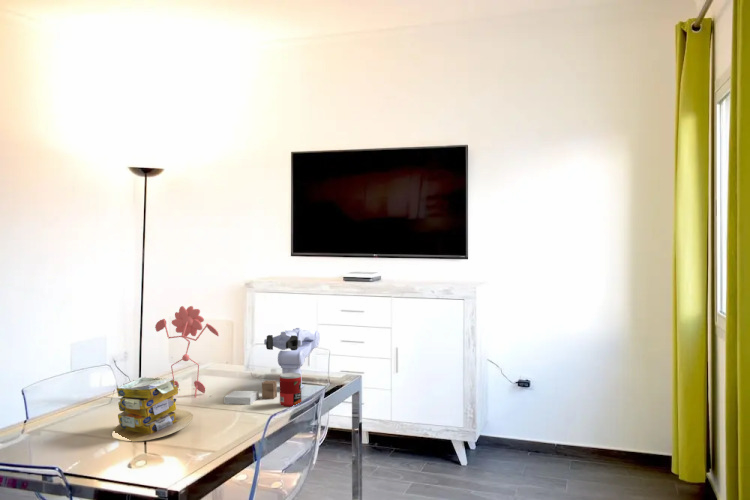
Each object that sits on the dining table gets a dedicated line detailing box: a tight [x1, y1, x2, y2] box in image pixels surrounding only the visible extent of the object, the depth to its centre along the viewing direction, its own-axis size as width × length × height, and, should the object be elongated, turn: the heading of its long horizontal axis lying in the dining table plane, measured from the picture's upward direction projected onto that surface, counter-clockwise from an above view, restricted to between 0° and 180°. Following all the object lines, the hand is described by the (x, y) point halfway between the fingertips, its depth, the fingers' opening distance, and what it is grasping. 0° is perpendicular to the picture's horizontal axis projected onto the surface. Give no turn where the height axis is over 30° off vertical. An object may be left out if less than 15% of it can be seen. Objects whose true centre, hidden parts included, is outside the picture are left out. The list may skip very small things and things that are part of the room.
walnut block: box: [261, 380, 278, 400], centre depth 248 cm, size 4×4×6 cm
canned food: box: [279, 373, 302, 408], centre depth 236 cm, size 8×8×11 cm
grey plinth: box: [223, 390, 260, 405], centre depth 243 cm, size 10×10×2 cm
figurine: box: [154, 305, 220, 398], centre depth 256 cm, size 15×26×35 cm, turn 87°
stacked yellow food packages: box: [112, 376, 194, 443], centre depth 206 cm, size 25×25×17 cm
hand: (276, 345), depth 241 cm, fingers open, 7 cm apart
